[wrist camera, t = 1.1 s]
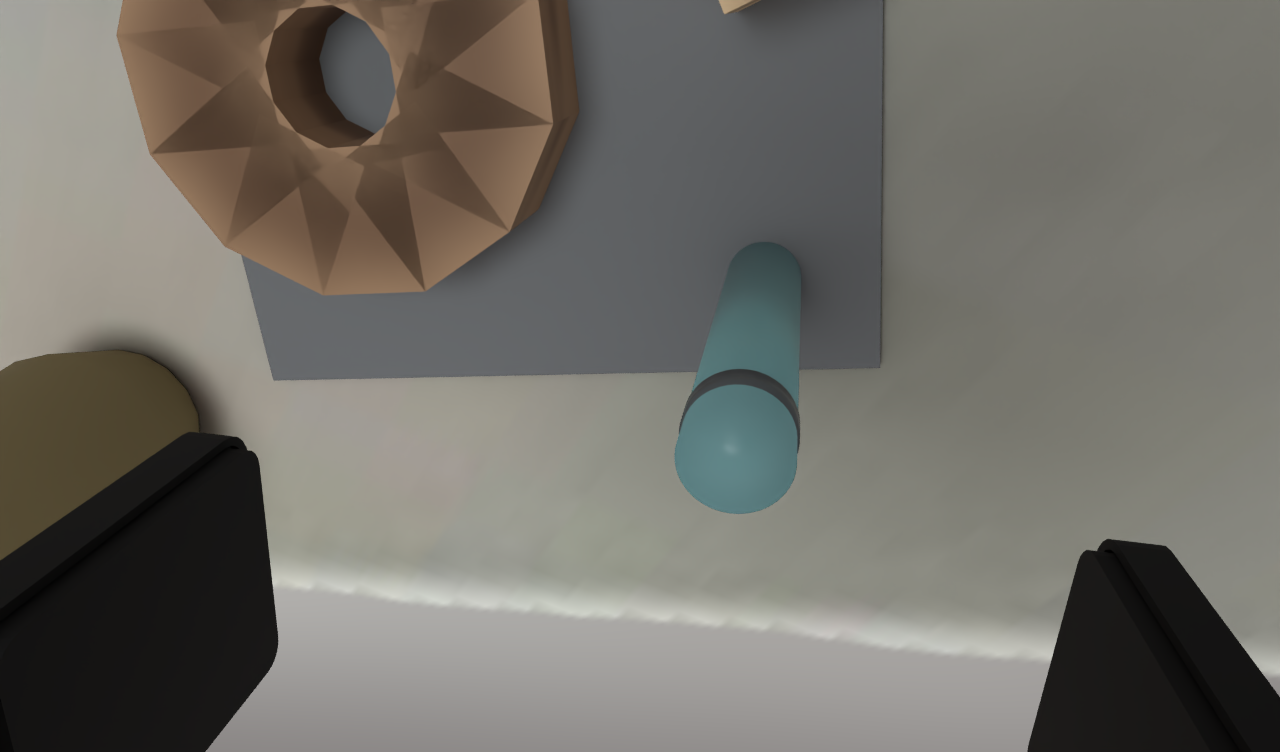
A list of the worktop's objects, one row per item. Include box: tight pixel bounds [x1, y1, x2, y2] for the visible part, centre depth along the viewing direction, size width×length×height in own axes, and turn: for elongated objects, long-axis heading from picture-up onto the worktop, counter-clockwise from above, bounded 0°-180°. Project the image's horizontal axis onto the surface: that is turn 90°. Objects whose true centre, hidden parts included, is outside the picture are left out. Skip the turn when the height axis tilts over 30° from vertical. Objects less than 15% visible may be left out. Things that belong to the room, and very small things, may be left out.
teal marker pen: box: [675, 242, 801, 514], centre depth 26 cm, size 3×3×14 cm
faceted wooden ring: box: [117, 0, 579, 295], centre depth 30 cm, size 14×14×4 cm
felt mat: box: [242, 0, 883, 380], centre depth 32 cm, size 24×19×1 cm
